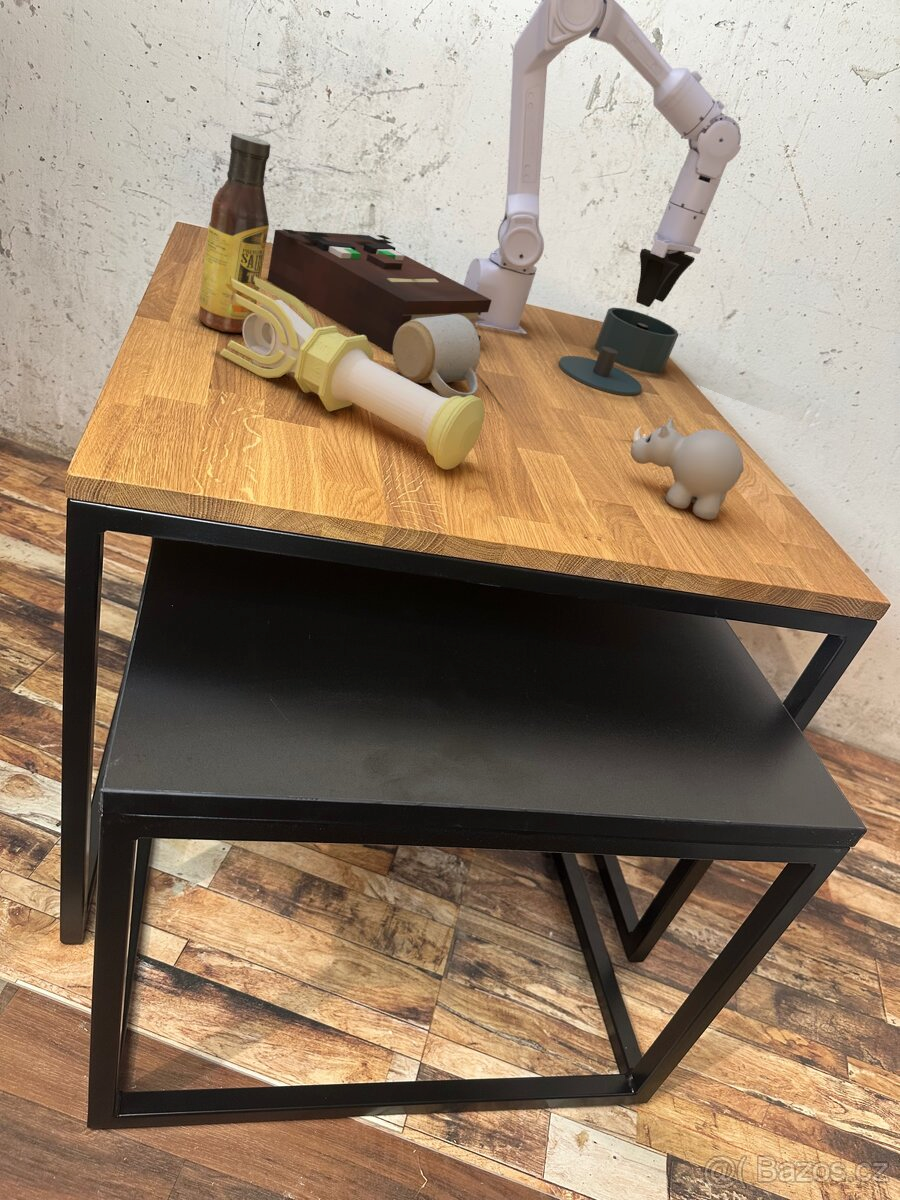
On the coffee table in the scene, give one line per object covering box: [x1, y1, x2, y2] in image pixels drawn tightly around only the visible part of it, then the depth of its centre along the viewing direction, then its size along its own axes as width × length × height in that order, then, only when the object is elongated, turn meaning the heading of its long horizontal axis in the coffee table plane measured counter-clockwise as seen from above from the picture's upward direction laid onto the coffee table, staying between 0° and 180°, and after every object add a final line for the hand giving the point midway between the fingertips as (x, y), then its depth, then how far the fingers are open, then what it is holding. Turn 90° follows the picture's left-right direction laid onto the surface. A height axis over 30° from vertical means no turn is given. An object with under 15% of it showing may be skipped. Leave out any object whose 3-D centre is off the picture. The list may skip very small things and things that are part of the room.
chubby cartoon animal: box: [630, 418, 745, 521], centre depth 92 cm, size 7×12×8 cm, turn 62°
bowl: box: [594, 307, 679, 374], centre depth 134 cm, size 11×11×6 cm
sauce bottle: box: [198, 132, 271, 334], centre depth 95 cm, size 7×6×20 cm
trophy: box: [219, 276, 486, 470], centre depth 87 cm, size 8×8×30 cm
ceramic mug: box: [392, 314, 481, 398], centre depth 101 cm, size 11×8×8 cm
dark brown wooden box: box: [266, 228, 492, 356], centre depth 118 cm, size 19×8×30 cm
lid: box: [558, 347, 643, 397], centre depth 122 cm, size 12×12×5 cm
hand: (649, 301), depth 131 cm, fingers open, 7 cm apart
